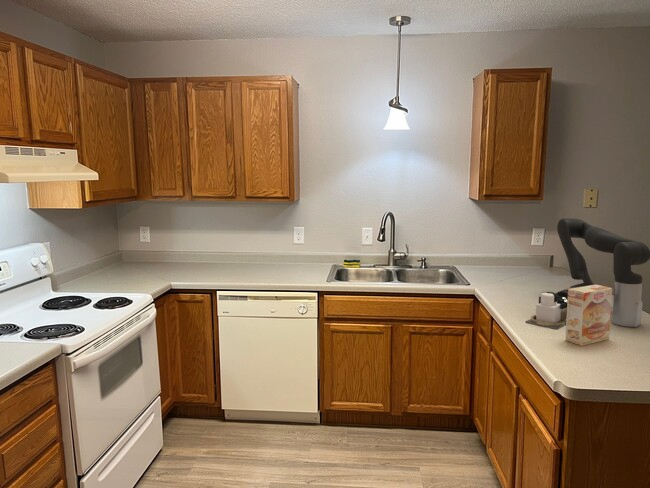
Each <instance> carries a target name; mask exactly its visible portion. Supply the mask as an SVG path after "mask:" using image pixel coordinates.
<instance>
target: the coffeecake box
mask: <svg viewBox="0 0 650 488" xmlns="http://www.w3.org/2000/svg"><path fill="white" fill-rule="evenodd" d="M613 290H614V287H613V288H612V287H609V286H604V285H599V284H594V285H590V286H584V287H578V288H571V289H568V301H567V308H566V319H565V320H566V325H565V341H567V342H570V343H573V344H576V345H577V346H579V347H580V346H581V347H582V346H587V345H592V344H595V343H599V342H603V341H607V340H610V332H611V331H610V330H611V329H610V327H611V318H612V317H611V313H612V301H613V299H612V298H613Z"/></svg>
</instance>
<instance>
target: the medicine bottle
mask: <svg viewBox="0 0 650 488" xmlns="http://www.w3.org/2000/svg"><path fill="white" fill-rule="evenodd" d="M556 293H557V292H553V291H544V292H541V293H540V297H541V303H539V302H538V304H536V309H535V311H536V312H535V313H536V314H535V315H536V320H537V321H540V322H545V323H557V322H559V321H560V317H561V310H562V309H560V304H557V294H556Z"/></svg>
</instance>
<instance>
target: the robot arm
mask: <svg viewBox="0 0 650 488" xmlns="http://www.w3.org/2000/svg"><path fill="white" fill-rule="evenodd" d="M556 230H557V234H558V237H559V240H560V243H561V246H562V248H563V251H564V252H565V255H566V259H567V262H568V266H569V267H568V268H569V272H570V277H571V279H572V280H576V281H577V280H578V281H581V280H582V283H577V284H574V285H571V286H570V287H568V288H564V289H562V290H559V291H557V292H555V293H556V294H557V304H560V309H561V310H565V309H567V301H568V289H571V288H578V287H584V286H590V285H595V284H594V282H593V280H592V278H591V276H590V275H589V272H588V266H587V263H586V262H587V261H586V259H585V258H584V256H583V255H582V253H581V252H580V251H579V250H578V249H577V246H575V244H574V243H573V241H572V238H573V239H582V240H584V242H585V244H586V245H587V246H588V247H589V248H592V249H594V250H596V251H597V252H602V253H605V254H606V253H608V254H613V268H612V270H613V275H614V287H613V299H612V301H613V303H612V317H611V318H612V319H611V323H613V324H615V325H617V326H621V327H628V328H630V327H631V328H638V327H639V326H640V324H641V325H642V315H643V300H642V289H643V287H642V286H643V276H642V275H641V274H639V273H636V272H634V271H633V270H632V266H638V265H639V266H640V265H644V264H646V263H648V261H650V248H649V246H648V245H647V244H646V243H644V242H642V241H638V240H635V239H634V240H633V239H628V238H625V237H623V236H621V235H618V234H616V233H613V232H611V231H609V230H607V229H603V228H600V227H597V226H595V225H591V224H589V223H588V222H586V221H584V220H583V219H579V218H570V217H568V218H561V219H559V220H558V223H557V226H556ZM539 303H541V296H539V297H538V304H539Z"/></svg>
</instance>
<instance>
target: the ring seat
mask: <svg viewBox="0 0 650 488" xmlns="http://www.w3.org/2000/svg"><path fill="white" fill-rule="evenodd" d="M566 320H567V319H566V318H563V317H562V316H560V321H559V322H557V323H545V322H540V321H537V320H536V314H534V315H532V316H530V319H527V320H525V323H526V324H529V325H533V326H537V327H543V328H548V329H552V330H559V329H561V328H563V327H566Z"/></svg>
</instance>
